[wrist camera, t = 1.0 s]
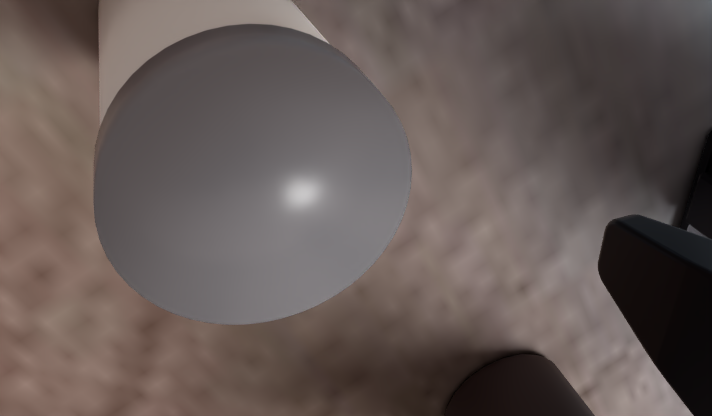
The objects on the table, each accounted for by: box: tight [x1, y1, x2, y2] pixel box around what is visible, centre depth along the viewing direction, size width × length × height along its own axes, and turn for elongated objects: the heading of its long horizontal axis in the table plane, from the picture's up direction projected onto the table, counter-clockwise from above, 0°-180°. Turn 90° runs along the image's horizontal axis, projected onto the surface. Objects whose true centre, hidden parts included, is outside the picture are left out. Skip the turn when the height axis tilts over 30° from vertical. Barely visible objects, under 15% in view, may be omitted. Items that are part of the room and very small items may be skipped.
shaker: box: [94, 0, 412, 325], centre depth 15 cm, size 5×5×10 cm
